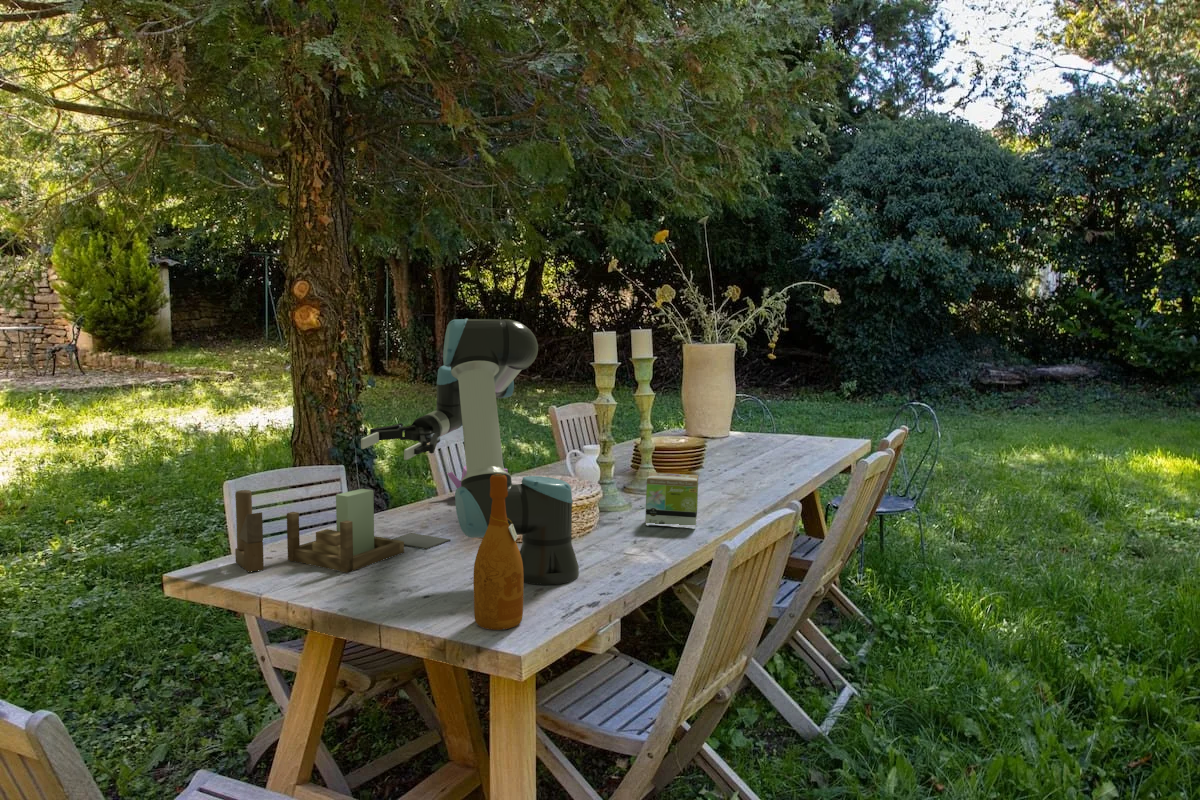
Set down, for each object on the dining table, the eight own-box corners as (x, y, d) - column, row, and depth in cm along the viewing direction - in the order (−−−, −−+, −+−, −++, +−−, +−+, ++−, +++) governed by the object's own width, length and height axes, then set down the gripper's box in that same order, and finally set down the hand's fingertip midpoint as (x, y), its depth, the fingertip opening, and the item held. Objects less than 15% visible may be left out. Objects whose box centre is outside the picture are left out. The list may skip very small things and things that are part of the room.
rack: (404, 552, 211) (403, 507, 210) (347, 572, 194) (346, 523, 193) (347, 542, 220) (346, 498, 219) (287, 560, 203) (286, 513, 202)
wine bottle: (496, 636, 155) (496, 481, 153) (463, 623, 162) (462, 474, 159) (533, 622, 163) (534, 474, 160) (500, 610, 169) (500, 467, 167)
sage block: (374, 550, 213) (373, 490, 211) (348, 559, 205) (347, 496, 203) (362, 548, 215) (361, 488, 213) (337, 556, 207) (335, 494, 205)
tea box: (644, 527, 240) (645, 477, 239) (648, 519, 250) (649, 471, 249) (696, 529, 238) (697, 479, 237) (697, 521, 248) (698, 473, 247)
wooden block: (248, 573, 193) (246, 498, 191) (235, 562, 201) (232, 490, 199) (264, 570, 195) (262, 496, 193) (250, 560, 203) (248, 489, 202)
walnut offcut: (346, 543, 202) (346, 532, 202) (335, 546, 199) (335, 535, 199) (327, 539, 205) (326, 529, 205) (316, 542, 202) (315, 532, 202)
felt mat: (450, 540, 223) (450, 539, 223) (426, 549, 214) (426, 548, 214) (410, 534, 230) (410, 532, 230) (385, 542, 221) (385, 540, 221)
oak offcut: (348, 553, 203) (347, 542, 202) (338, 556, 199) (338, 546, 199) (322, 549, 206) (322, 539, 205) (312, 552, 202) (312, 542, 202)
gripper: (467, 448, 228) (423, 473, 209) (393, 430, 237) (344, 452, 218) (468, 423, 226) (424, 445, 207) (393, 406, 235) (344, 426, 216)
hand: (383, 449), depth 213 cm, fingers open, 13 cm apart
